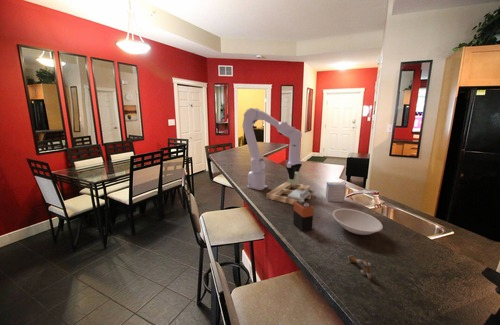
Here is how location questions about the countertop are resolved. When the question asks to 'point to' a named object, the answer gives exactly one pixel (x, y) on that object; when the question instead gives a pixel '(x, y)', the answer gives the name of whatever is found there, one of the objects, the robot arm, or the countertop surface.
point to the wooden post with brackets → (365, 263)
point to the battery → (303, 215)
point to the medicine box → (335, 192)
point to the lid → (299, 194)
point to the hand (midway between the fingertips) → (293, 178)
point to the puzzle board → (286, 192)
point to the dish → (357, 221)
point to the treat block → (295, 180)
